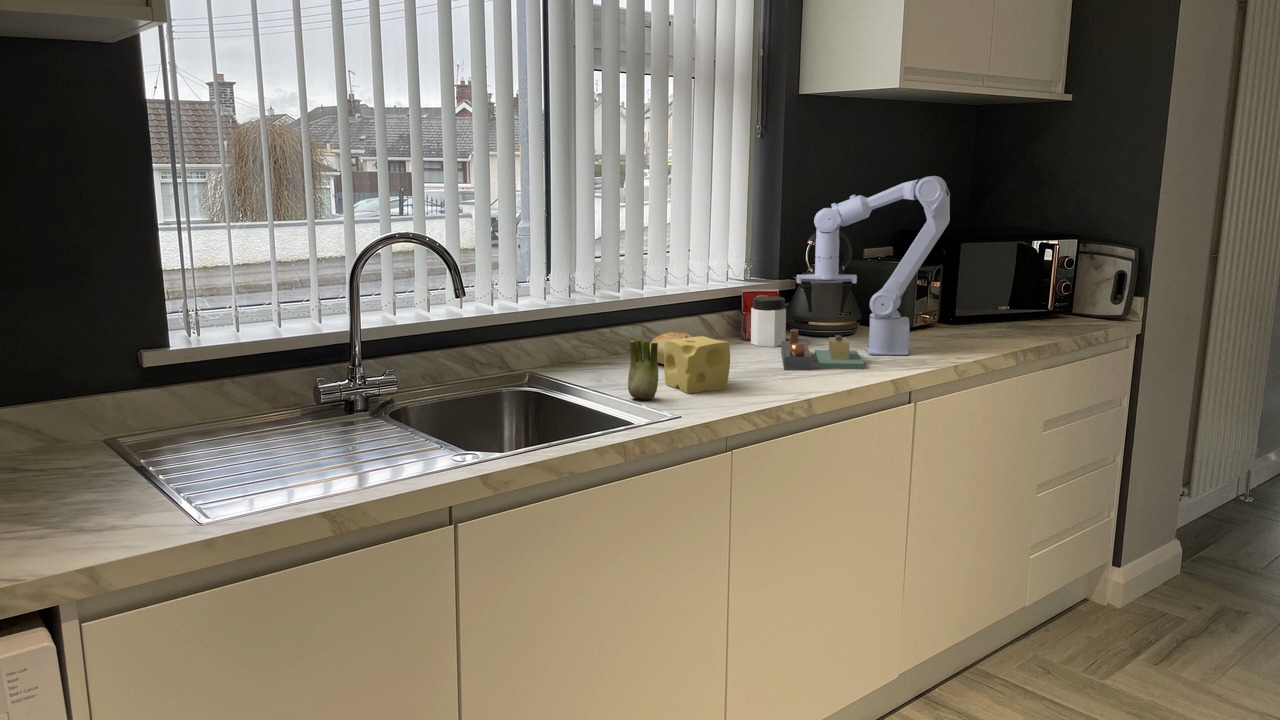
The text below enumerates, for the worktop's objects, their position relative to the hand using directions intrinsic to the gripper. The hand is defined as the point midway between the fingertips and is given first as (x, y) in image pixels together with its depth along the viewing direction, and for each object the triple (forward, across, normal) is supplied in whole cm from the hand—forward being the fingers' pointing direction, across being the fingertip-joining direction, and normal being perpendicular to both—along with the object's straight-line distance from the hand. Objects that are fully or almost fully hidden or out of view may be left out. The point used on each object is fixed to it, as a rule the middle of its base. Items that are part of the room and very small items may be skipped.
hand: (825, 311), depth 243 cm
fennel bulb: (+10, -40, -56) cm, 69 cm away
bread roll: (+10, -36, -23) cm, 44 cm away
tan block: (+8, +2, -16) cm, 18 cm away
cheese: (+10, -30, -44) cm, 54 cm away
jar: (+10, -14, +6) cm, 18 cm away
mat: (+9, +2, -16) cm, 19 cm away
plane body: (+9, -8, -16) cm, 20 cm away
